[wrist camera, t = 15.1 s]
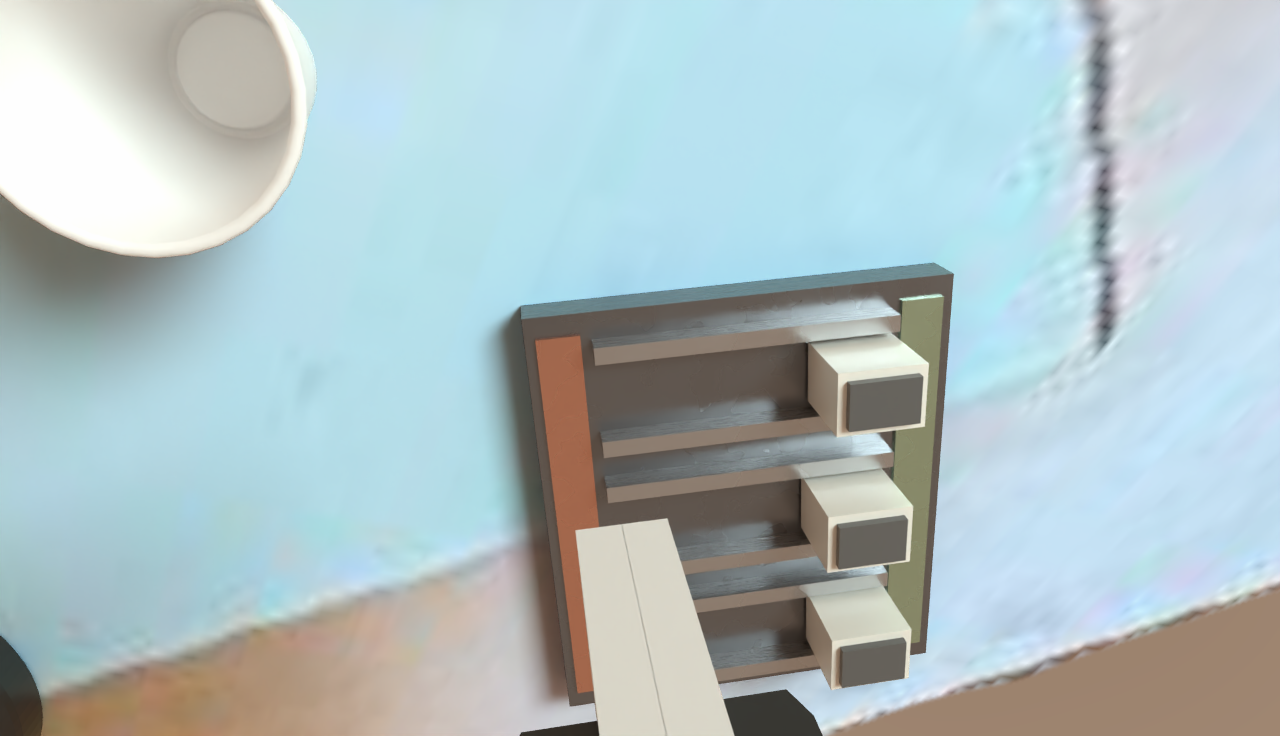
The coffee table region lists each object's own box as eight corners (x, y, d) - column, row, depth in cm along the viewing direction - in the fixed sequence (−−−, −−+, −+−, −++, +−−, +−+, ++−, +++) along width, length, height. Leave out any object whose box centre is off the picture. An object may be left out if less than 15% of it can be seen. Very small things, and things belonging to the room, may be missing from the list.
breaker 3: (805, 636, 46) (833, 695, 42) (806, 590, 45) (835, 646, 41) (877, 626, 46) (911, 683, 42) (879, 580, 45) (915, 634, 41)
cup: (326, 230, 37) (255, 305, 27) (80, 138, 34) (-103, 184, 24) (399, 3, 34) (349, -9, 24) (136, -116, 32) (-44, -184, 21)
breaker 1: (807, 400, 41) (839, 441, 37) (808, 342, 40) (841, 377, 36) (888, 391, 41) (928, 430, 37) (890, 332, 40) (933, 366, 36)
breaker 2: (800, 526, 43) (830, 578, 39) (801, 474, 42) (831, 522, 38) (876, 516, 44) (913, 566, 40) (878, 465, 43) (917, 510, 39)
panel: (567, 680, 48) (571, 723, 45) (520, 305, 39) (521, 327, 36) (910, 629, 50) (935, 667, 47) (934, 262, 41) (966, 280, 38)
